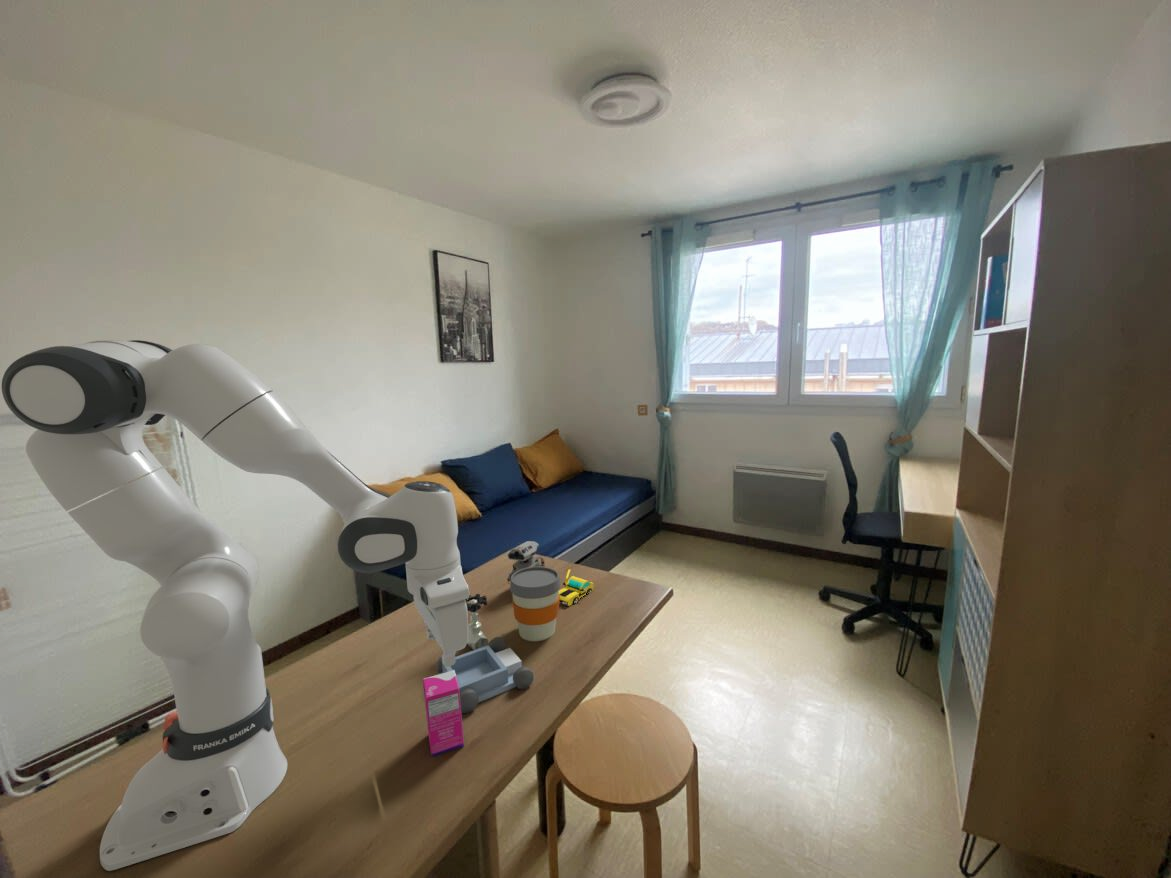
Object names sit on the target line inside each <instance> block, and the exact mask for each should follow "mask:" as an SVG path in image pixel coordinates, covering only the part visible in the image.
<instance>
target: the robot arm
mask: <svg viewBox="0 0 1171 878" xmlns="http://www.w3.org/2000/svg"><path fill="white" fill-rule="evenodd" d="M1 392H2V394H1V395H2V397H3V400H4V402H5V404H6V405H7V407H8V408H9V410H10V411H11V412H12V413H13V414H14V416H15V417H17V418H18V419H19V420H20V421H22V422H23V423H25V424H26V425H28V426H29V427H32V428H34V429H36V430H35V431H33V433H32V434H31V435H30V436H29V438H28V439H27V442H26V445H25V451H26V455H27V457H28V459H29V460H30V462H31V464H32V466H33V468H34V470H35V471H36V474H38V476H39V478H40V479H41V481H42V483H43V484H44V485H45V487H46V488H47V490H48V491H49V492H50V494H51V495H52V497H54V499H55V500H56V502H57V503H58V504H59V505H60V506H61V507H62V509H64V510H65V512H67V513H68V515H69V516H70V517H71V518H72V519H73V521H75V522H76V523H77V524H78V526H80V528H81V529H82V530H83V531H84V532H85V533H86V534H87V535H88V536H89V537H90V538H91V540H92V541H93V542H94V543H95V545H97V546H98V547H99V548H100V549H101V550H102V551H103V552H104V554H106V555H107V556H108V557H109V558H112V559H113V560H114V561H115V560H116V561H121V562H126V563H128V564H131V566H134V567H136V568H138V569H139V570H141V571H143V572H144V573H146V574H147V575H149V576H150V577H151V578H153V579H155V580H156V581H157V582H158V583H159V585H160V587H159V588H158V589H157V590H156V591H155V592H154V593H153V595H152V596H151V598H150V599H149V600H148V603H147V605H146V607H145V610H144V612H143V616H142V619H141V620H142V621H141V624H140V630H139V631H140V632H139V633H140V638H141V639H140V640H141V641H142V643H143V645H144V646H145V647H146V648H147V650H148V651H149V652H151V653H152V654H154V655H155V656H158V657H160V660H162V663H163V664H164V667H165V668H166V670H167V673H168V675H169V678H170V681H171V685H172V689H173V696H174V702H175V709H176V711H172V712H170V713H168V714H167V715H166V717H165V719H164V722H163V725H162V728H163V730H164V731H163V734H162V749H160V751H159V752H158V753H157V754H155V755H154V756H153V757H151V759H150V760H149V761H147V762H146V763H145V764H143V766H141V768H139V770H138V771H137V772H136V773H135V775H134V776H133V777H132V779H131V781H130V782H129V785H128V786H127V789H126V790H125V792H124V796H123V798H122V801H121V804H120V805H119V807H117V809H116V810H115V811H114V813H113V814H112V815H111V817H110V820H108V823H107V825H106V827H105V829H104V831H103V835H102V837H101V841H100V845H99V862H100V865H101V866H102V868H103V869H104V870H106V871H108V872H112V871H115V870H119V869H122V868H124V867H127V866H131V865H133V864H136V863H140V862H144V861H146V860H150V859H152V858H153V859H154V858H157V857H159V856H162V855H165V854H168V853H171V852H175V851H177V850H181V849H184V848H186V847H191V846H193V845H197V844H200V843H203V842H206V841H209V840H212V839H216V838H219V837H221V836H225V835H227V834H230V833H233V832H235V831H236V830H237V829H238V828H239V827H240V826H242V825H243V823H244V822H245V821H246V819H248V817H249V815H250V814H251V813H252V812H253V811H254V810H255V809H256V808H257V807H258V806H260V805H261V804H262V803H263V802H264V801H265V800H266V799H268V798H269V797H270V796H271V795H272V794H273V793H274V791H275V790H277V788H278V787H279V785H281V783H282V781H283V780H284V778H285V776H286V773H287V770H288V760H287V758H286V756H285V755H284V753H283V751H282V750H281V747H280V745H279V743H278V740H277V737H276V734H275V730H274V727H273V725H274V720H275V719H274V707H273V700H272V697H271V693H270V690H269V689H268V687H267V686H266V679H265V670H264V662H263V661H264V660H263V654H262V648H261V646H260V645H259V644H258V643H257V642H256V639H255V637H254V634H253V631H252V628H251V623H250V619H249V608H250V601H251V598H252V594H253V593H254V590H255V589H256V586H257V585H258V582H259V577H260V567H259V566H260V565H259V561H258V558H257V555H256V554H255V552H254V551H253V550H252V548H250V547H249V546H247V545H246V544H243V543H242V542H239V541H236V540H235V538H233V537H232V536H231V535H230V534H229V533H228V532H227V531H225V530H224V529H223V528H221V527H220V526H219V525H218V524H216V523H215V522H214V521H213V520H211V518H209V517H208V516H207V515H205V514H204V512H202V510H200V508H198V507H197V505H196V504H195V503H194V502H193V501H192V500H191V498H190V497H189V496H188V495H187V494H186V492H184V489H182V488H181V486H180V485H179V484H178V483H177V482H176V480H175V479H174V478H173V476H171V474H170V473H169V472H168V470H166V468H165V467H164V466H163V465H162V463H161V462H160V461H159V460H158V459H157V457H156V456H155V455H154V454H153V453H152V452H151V451H150V449H149V448H148V446H147V445H146V443H145V441H144V439H143V438H144V437H143V430H144V426H153V425H156V424H158V423H159V422H160V421H161V420H162V419H163V418H164V417H165V416H167V417H169V418H172V419H174V420H176V421H177V422H179V423H180V424H181V425H182V426H184V427H185V428H186V429H188V430H189V431H190V432H191V433H192V434H193V435H194V436H196V438H198V439H199V440H200V441H201V442H202V443H203V444H204V445H206V446H207V448H209V449H210V450H211V451H213V452H214V453H215V454H216V455H218V456H220V458H222V459H224V460H225V461H226V462H228V463H230V464H232V465H234V466H235V467H237V468H239V469H241V470H242V471H244V472H247V473H252V474H261V475H262V474H264V475H277V476H283V477H286V478H287V477H288V478H290V479H292V480H296V481H297V482H299V483H301V484H303V485H304V486H306V487H307V488H308V489H309V490H310V491H312V492H313V493H314V494H316V495H317V496H318V497H319V498H320V499H322V500H323V501H324V502H325V503H326V504H328V505H329V506H330V507H331V508H332V509H334V510H335V511H336V512H337V513H338V514H339V515H340V517H341V520H342V522H343V524H344V525H342V529H341V531H340V534H339V537H338V540H337V551H338V555H339V558H340V559H341V561H342V562H343V564H345V565H346V567H348V568H350V569H351V570H353V571H355V572H359V573H363V574H372V573H377V572H381V571H385V570H389V569H391V568H394V567H398V566H401V565H404V564H405V572H406V585H407V586H406V587H407V591H408V592H409V594H411V595H413V596H412V597H413V602H414V606H415V608H416V610H417V611H418V613H419V614H420V616H421V618H422V619H423V621H424V625H425V629H426V637H427V638H428V640H429V641H434V640H435V641H436V642H437V644H438V645H439V648H440V649H441V650H442V653H441V657H442V662H443V664H444V666H445V667H449V666H452V665H454V664H455V657H456V653H457V652H458V651H461V650H464V649H466V646H467V645H468V644H467V642H468V627H469V615H468V613H469V611H467V604H466V601H465V599H467V598H469V595H470V588H469V585H468V582H467V581H466V578H465V575H464V573H463V567H462V565H461V554H460V550H459V547H458V541H457V540H458V539H457V538H458V534H459V523H458V514H457V509H456V504H455V503H456V501H455V499H454V495H453V493H452V492H451V490H450V489H449V488H448V487H447V486H445V485H444V484H442V483H438V482H436V481H435V482H434V481H427V480H426V481H425V480H419V481H411V482H408V483H405V484H404V485H403V486H402V488H401V489H399V490H397V491H396V492H395V493H393V494H389V493H387V492H384V491H380V490H378V489H376V488H373V487H371V486H370V485H368V484H366V483H365V482H364V481H362V480H361V479H360V478H359V477H358V476H356V474H354V473H353V472H352V471H351V470H350V469H349V468H348V467H346V465H344V464H343V463H342V462H341V461H339V459H338V458H336V456H334V455H332V453H331V452H330V451H328V450H327V449H326V448H325V447H324V445H322V444H321V442H320V441H319V440H318V439H317V438H316V437H315V435H314V434H313V433H312V432H311V431H310V430H309V429H308V427H307V426H306V425H305V423H304V422H303V421H302V420H301V418H300V417H298V415H297V414H296V413H295V412H294V411H293V410H292V408H290V406H289V405H288V404H287V403H286V402H285V401H284V400H283V399H282V398H281V397H280V395H278V394H277V393H276V392H275V391H273V389H272V388H271V387H270V386H269V385H267V383H265V382H264V381H263V379H260V377H258V376H257V375H256V374H255V373H254V372H252V371H251V370H250V369H248V367H246V366H244V365H243V364H242V363H240V362H239V361H238V360H236V359H235V358H233V357H232V356H231V355H229V354H228V353H226V352H224V351H223V350H221V349H220V348H218V347H216V346H213V345H210V344H205V343H193V344H187V345H183V346H180V347H177V348H175V349H171V348H169V347H167V346H166V345H162V344H160V343H156V342H152V341H151V342H150V341H146V340H138V339H137V340H133V339H131V340H94V341H89V342H86V343H80V344H72V345H66V346H65V345H60V346H59V345H56V346H49V347H45V348H42V349H37V350H36V351H32V352H30V353H26V354H25V355H23V356H21V357H19V358H18V359H16V360H14V361H13V362H12V363H11V364H10V365H8V367H7V368H6V369H5V372H4V373H3V376H2V380H1ZM159 468H160V469H159ZM142 476H143V477H142Z"/></svg>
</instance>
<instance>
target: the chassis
mask: <svg viewBox="0 0 1171 878" xmlns="http://www.w3.org/2000/svg"><path fill="white" fill-rule="evenodd" d="M507 647H508V645H507V642H506V641H505V640H504V638H502V637H501V636H496V637H493V638H492V639H491V640H490V641H489V642H488V646H485V647H482V648H479V649H476V650H471V651H468V652H466V653H462V654H460V655H457V656H455V664H454V665H452V666H449V667H445V666H444V664H443V662H442V656H440V657H439V659H437V661H436V663H435V668H436V671H437V672H438V674H437V675H439V674H442V673H446V672H449V671H452V670H455V673H456V677H457V681H458V685H459V692H460V704H461V714H469V713H471V712H473V711H474V710H475V709H476V708H477V707H478V705H479V703H481V702H484V701H485V700H486V701H487V700H488V699H491V698H493V697H495V696H498V695H500V694H502V693H505V692H507V691H510V690H512V689H514V688H516V687H517V688H518V689H519V690H525V689H527V688H529V687H530V686H531V685H532V684H533V681H534V672H532V670H531V669H530V667H528V666H525V665H523V663H522V659H520V657H519V656H518V655H517V654H516V653H515V651H514V650H513V649H512V648H510V647H508V648H507Z"/></svg>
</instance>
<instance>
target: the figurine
mask: <svg viewBox="0 0 1171 878" xmlns="http://www.w3.org/2000/svg"><path fill="white" fill-rule="evenodd" d="M539 546H540V545H539V543H538V542H537V541H534V540H527V541H525V542H522V543H520V542H518V543H517V546H516V547H514V548H512V549H511V550H510V551H509V552H508V553H507V558H508V560H511V561H515V562H514V563H513V564H512V571H511V572H509V573H508V577H507V583H510V582H511V576H512V575H513V574H514V573H515V572H517V571H518V570H521V569H524V568H528V567H546V564H545V559H544V558H542V557H541V556H539V557H535V555H536V553H537V549H538V548H539Z"/></svg>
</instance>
